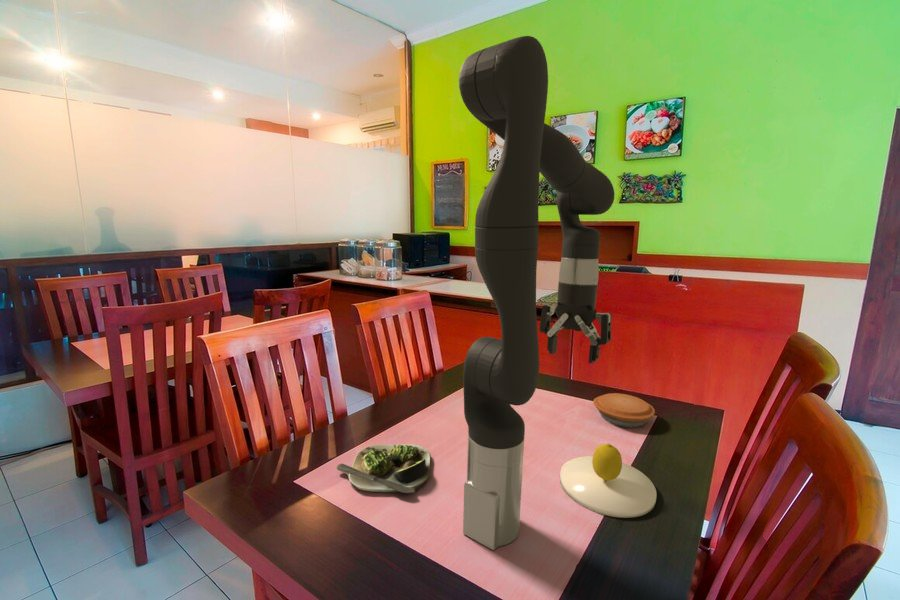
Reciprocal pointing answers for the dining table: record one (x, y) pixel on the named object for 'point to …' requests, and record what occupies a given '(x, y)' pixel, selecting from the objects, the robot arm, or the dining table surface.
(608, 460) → the lemon
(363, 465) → the salad plate
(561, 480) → the saucer
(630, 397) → the pie
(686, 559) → the dining table surface
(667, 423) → the dining table surface
